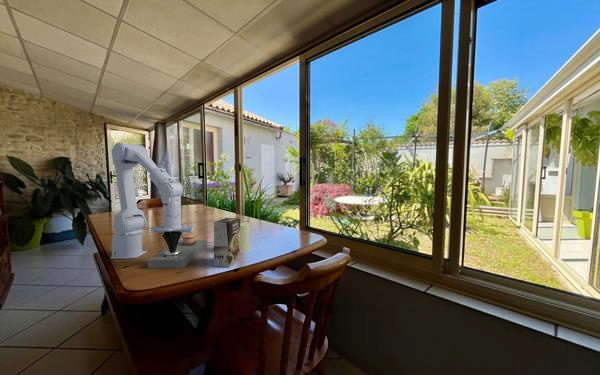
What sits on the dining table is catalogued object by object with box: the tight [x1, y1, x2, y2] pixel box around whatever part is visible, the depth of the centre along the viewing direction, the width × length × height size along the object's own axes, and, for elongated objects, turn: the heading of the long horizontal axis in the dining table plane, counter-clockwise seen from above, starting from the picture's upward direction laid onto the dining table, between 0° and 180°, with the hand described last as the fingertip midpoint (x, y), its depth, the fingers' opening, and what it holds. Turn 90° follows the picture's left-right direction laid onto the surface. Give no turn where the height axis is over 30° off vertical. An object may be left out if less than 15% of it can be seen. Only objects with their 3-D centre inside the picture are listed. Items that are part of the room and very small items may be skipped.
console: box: [147, 239, 208, 269], centre depth 97 cm, size 12×25×3 cm, turn 2°
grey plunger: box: [165, 249, 181, 257], centre depth 90 cm, size 5×5×4 cm
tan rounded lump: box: [181, 233, 196, 246], centre depth 103 cm, size 5×5×4 cm
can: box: [240, 221, 251, 254], centre depth 105 cm, size 9×9×12 cm
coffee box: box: [213, 217, 241, 268], centre depth 90 cm, size 9×6×16 cm
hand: (172, 251), depth 90 cm, fingers closed, pressing on grey plunger
